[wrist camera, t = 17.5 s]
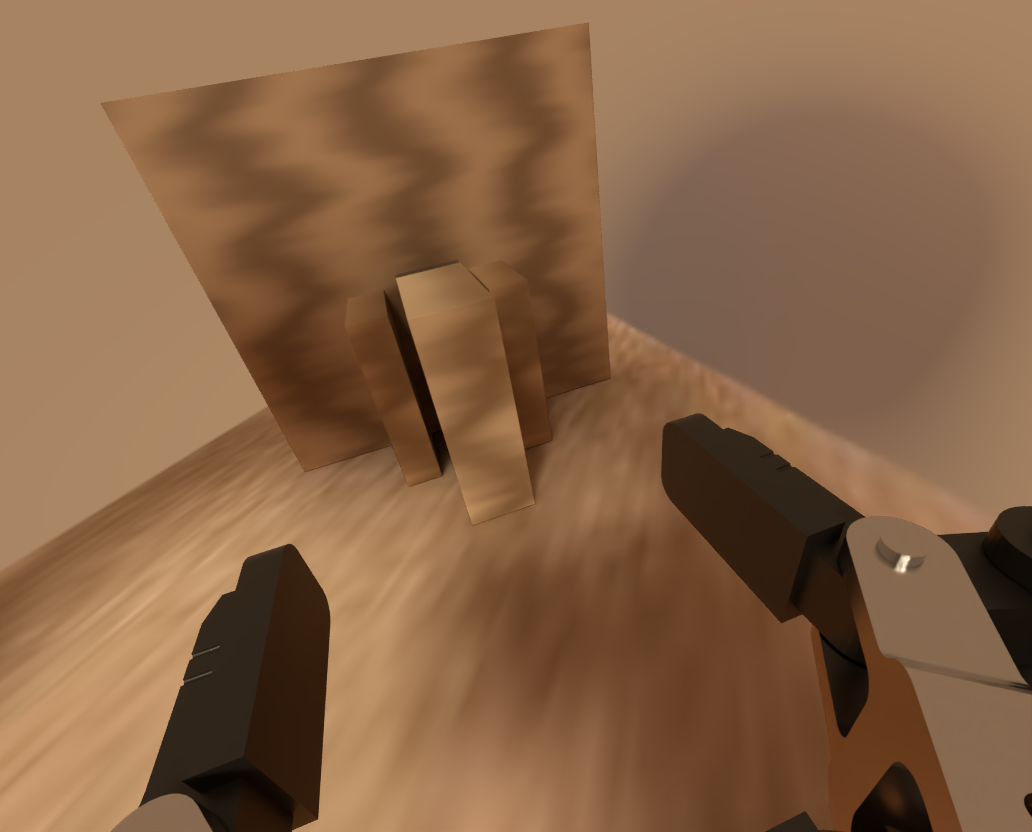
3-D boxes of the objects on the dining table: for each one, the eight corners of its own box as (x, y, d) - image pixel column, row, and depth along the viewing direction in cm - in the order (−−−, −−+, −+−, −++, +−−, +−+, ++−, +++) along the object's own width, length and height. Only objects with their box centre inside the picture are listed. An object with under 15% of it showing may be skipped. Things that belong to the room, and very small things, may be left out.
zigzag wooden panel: (295, 523, 25) (22, 85, 14) (308, 454, 31) (122, 108, 20) (646, 409, 28) (641, -11, 18) (598, 367, 34) (572, 32, 23)
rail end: (472, 525, 22) (407, 320, 16) (447, 442, 29) (395, 275, 23) (535, 503, 23) (493, 297, 17) (496, 427, 30) (457, 259, 24)
